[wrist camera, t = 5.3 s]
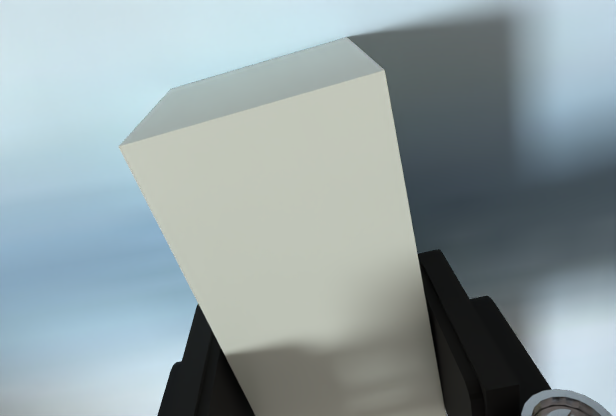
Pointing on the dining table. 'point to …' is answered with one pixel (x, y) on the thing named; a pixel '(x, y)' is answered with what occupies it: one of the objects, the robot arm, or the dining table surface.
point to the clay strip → (296, 232)
